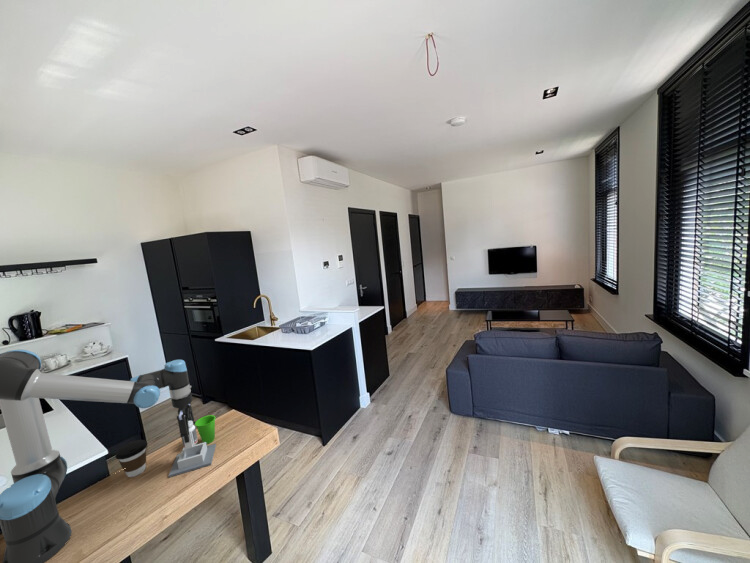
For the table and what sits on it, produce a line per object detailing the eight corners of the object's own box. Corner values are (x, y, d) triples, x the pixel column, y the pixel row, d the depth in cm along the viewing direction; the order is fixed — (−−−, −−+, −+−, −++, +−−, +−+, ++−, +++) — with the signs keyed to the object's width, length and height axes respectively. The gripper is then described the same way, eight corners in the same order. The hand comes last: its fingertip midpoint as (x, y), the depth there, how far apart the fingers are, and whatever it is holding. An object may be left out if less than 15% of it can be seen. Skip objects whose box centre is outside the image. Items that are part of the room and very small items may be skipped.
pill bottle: (193, 438, 138) (189, 418, 137) (200, 441, 136) (197, 421, 134) (180, 446, 133) (176, 426, 132) (188, 449, 130) (184, 428, 129)
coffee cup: (154, 469, 132) (149, 444, 130) (123, 486, 124) (116, 459, 122) (148, 459, 139) (143, 435, 138) (118, 474, 131) (112, 449, 130)
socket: (168, 477, 126) (166, 468, 126) (177, 456, 139) (176, 447, 139) (211, 465, 131) (209, 455, 131) (216, 445, 145) (214, 437, 144)
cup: (195, 443, 148) (191, 422, 146) (213, 432, 155) (209, 413, 154) (204, 449, 143) (200, 428, 141) (222, 438, 150) (219, 417, 148)
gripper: (185, 403, 123) (195, 453, 127) (195, 384, 141) (204, 429, 144) (164, 408, 121) (175, 459, 124) (177, 388, 138) (186, 433, 142)
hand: (190, 443), depth 134 cm, fingers closed on pill bottle, 6 cm apart
